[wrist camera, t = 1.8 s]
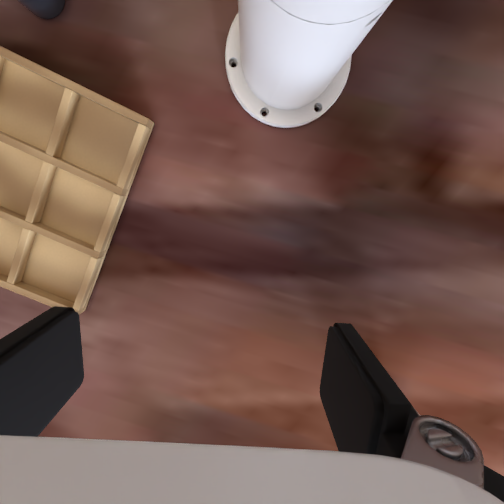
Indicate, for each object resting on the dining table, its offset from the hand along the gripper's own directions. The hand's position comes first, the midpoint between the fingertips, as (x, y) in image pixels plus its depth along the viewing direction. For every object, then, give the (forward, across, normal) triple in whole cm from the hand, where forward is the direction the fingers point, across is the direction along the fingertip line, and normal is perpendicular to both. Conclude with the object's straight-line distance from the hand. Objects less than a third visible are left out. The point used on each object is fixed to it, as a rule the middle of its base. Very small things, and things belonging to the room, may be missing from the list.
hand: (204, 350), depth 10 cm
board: (+22, +24, -5) cm, 34 cm away
